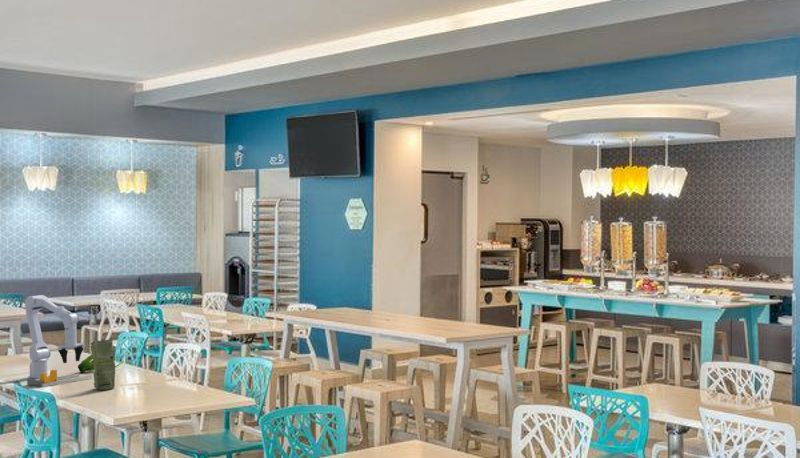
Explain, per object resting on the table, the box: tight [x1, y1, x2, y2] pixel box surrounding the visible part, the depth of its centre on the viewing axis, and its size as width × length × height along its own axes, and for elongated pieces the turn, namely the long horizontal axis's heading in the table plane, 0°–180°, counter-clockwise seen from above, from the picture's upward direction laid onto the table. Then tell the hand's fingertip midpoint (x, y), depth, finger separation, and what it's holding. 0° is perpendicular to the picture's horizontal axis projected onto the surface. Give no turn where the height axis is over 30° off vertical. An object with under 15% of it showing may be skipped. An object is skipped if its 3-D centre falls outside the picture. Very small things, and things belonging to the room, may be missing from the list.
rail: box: [26, 373, 93, 388], centre depth 482 cm, size 12×30×3 cm, turn 144°
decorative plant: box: [77, 343, 132, 374], centre depth 520 cm, size 18×30×15 cm, turn 111°
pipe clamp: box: [39, 369, 58, 383], centre depth 476 cm, size 12×4×6 cm, turn 171°
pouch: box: [90, 337, 116, 391], centre depth 460 cm, size 11×12×25 cm
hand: (71, 362), depth 487 cm, fingers open, 7 cm apart
